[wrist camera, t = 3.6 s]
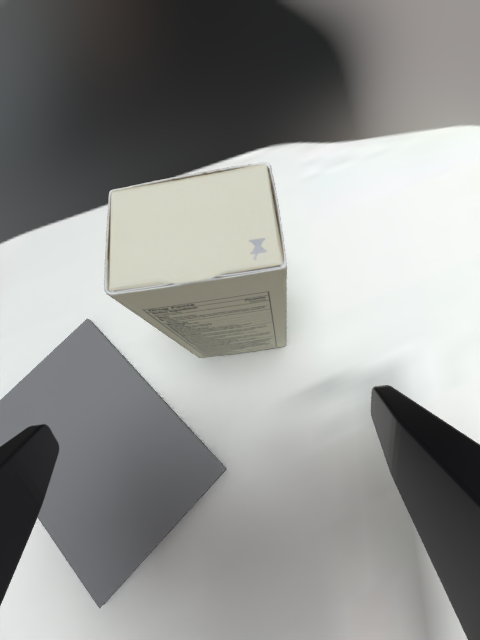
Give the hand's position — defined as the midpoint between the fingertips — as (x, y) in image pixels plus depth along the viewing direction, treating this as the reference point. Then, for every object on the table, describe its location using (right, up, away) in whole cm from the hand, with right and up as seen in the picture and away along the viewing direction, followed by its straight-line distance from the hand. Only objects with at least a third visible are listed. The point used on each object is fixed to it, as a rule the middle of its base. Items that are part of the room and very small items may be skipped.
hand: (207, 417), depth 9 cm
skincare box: (+1, +2, +14) cm, 14 cm away
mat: (-8, -5, +12) cm, 16 cm away
